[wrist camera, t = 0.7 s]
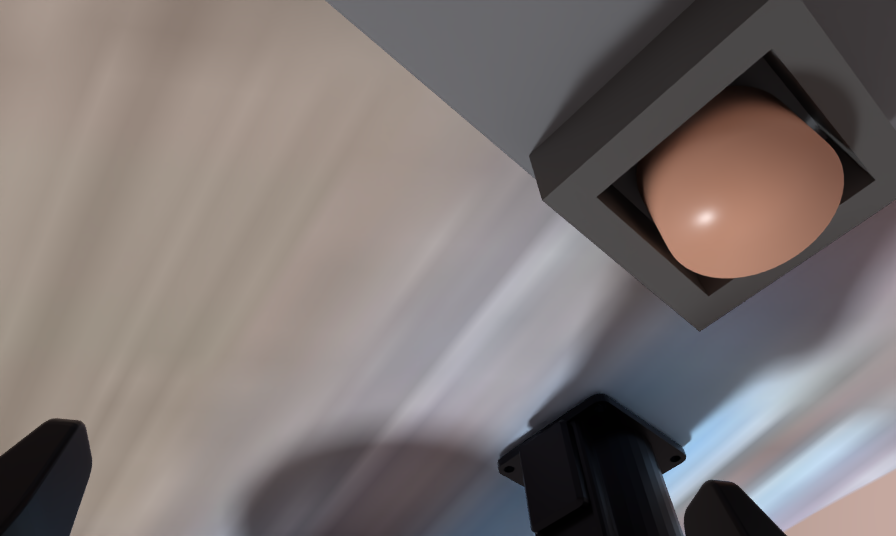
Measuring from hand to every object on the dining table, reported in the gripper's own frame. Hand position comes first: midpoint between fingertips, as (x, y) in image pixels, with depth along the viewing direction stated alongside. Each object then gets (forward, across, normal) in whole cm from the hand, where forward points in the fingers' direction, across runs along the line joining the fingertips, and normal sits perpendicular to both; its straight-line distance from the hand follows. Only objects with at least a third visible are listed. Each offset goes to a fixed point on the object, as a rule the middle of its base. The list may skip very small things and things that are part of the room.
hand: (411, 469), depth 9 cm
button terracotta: (+10, -8, -1) cm, 13 cm away
